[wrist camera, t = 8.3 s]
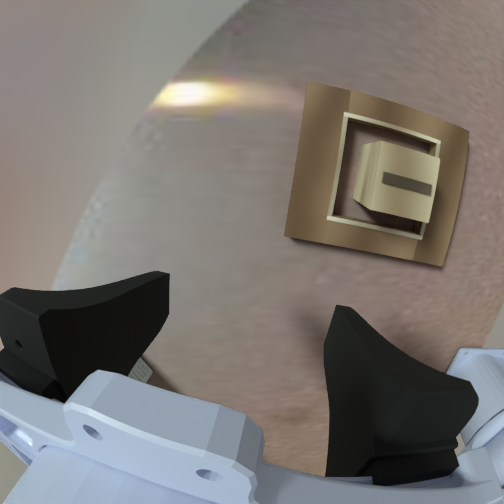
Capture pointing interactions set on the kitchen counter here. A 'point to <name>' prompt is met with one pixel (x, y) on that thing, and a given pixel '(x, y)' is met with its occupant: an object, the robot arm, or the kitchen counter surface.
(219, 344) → the kitchen counter surface
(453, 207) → the plate
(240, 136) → the kitchen counter surface
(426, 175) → the beige block with stripe
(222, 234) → the kitchen counter surface
